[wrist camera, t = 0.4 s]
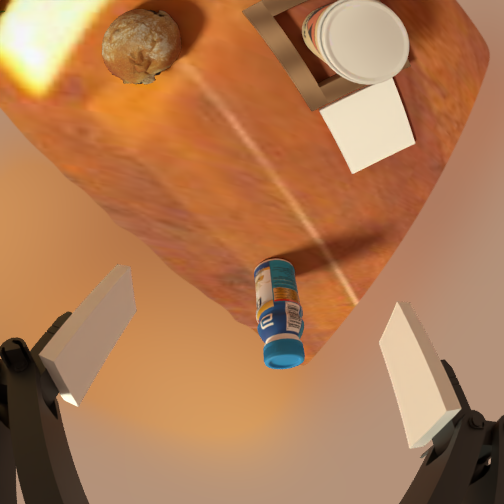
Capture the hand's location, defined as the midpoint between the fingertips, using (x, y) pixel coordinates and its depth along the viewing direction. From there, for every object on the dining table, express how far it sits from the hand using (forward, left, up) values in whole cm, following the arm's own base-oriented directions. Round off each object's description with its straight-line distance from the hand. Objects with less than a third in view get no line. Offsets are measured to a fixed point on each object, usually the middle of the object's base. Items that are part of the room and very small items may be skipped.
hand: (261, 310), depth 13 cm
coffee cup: (-3, +15, -31) cm, 34 cm away
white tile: (+12, +14, -31) cm, 36 cm away
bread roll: (-15, -5, -31) cm, 35 cm away
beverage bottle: (+31, -14, -31) cm, 46 cm away
